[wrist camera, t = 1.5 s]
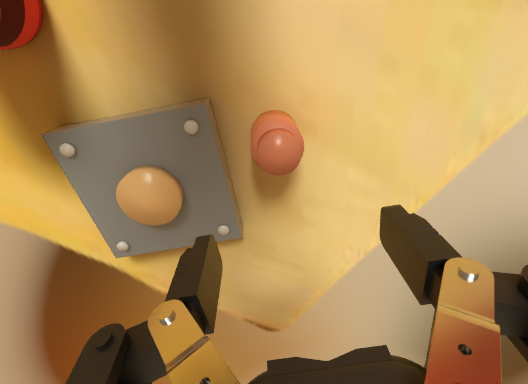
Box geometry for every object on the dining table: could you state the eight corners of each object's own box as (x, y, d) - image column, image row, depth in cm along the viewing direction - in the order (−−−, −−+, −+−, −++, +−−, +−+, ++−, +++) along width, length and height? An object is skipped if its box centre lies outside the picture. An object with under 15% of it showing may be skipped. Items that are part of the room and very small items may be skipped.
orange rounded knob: (247, 115, 26) (245, 133, 21) (293, 106, 26) (304, 122, 20) (256, 158, 28) (256, 184, 23) (299, 150, 28) (309, 175, 23)
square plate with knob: (59, 126, 26) (28, 139, 22) (209, 98, 25) (202, 107, 21) (125, 243, 33) (109, 267, 30) (242, 224, 32) (241, 246, 29)
